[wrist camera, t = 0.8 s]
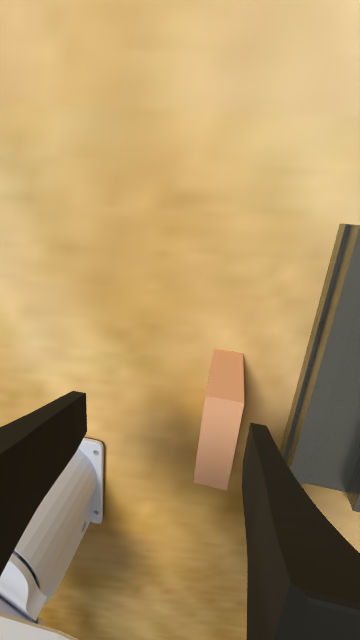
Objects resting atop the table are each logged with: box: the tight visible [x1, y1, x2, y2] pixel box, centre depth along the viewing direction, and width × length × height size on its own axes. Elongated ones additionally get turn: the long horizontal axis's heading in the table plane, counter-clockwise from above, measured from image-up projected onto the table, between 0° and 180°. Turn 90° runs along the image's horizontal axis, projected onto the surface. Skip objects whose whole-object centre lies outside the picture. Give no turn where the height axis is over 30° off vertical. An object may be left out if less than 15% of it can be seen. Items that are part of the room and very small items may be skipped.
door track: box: [280, 224, 360, 512], centre depth 19 cm, size 18×6×2 cm, turn 174°
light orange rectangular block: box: [193, 349, 244, 491], centre depth 19 cm, size 6×2×6 cm, turn 174°
